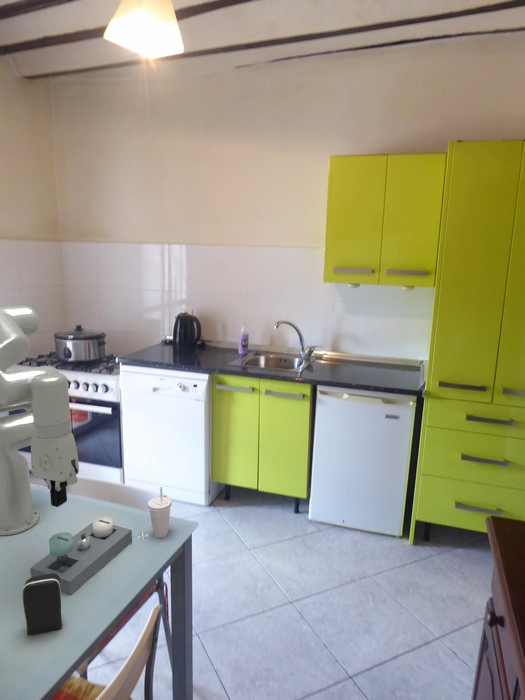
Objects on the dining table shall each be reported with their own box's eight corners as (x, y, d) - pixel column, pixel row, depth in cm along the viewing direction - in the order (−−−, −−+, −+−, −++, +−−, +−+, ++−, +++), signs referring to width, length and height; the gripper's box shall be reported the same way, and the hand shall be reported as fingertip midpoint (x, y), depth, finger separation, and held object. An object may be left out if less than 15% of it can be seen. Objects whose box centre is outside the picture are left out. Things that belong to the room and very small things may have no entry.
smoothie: (167, 542, 127) (165, 494, 124) (144, 539, 128) (142, 491, 126) (176, 529, 133) (174, 483, 130) (154, 526, 135) (153, 480, 132)
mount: (31, 580, 112) (30, 567, 111) (96, 531, 132) (95, 519, 131) (70, 595, 107) (69, 581, 107) (132, 541, 127) (131, 529, 127)
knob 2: (89, 543, 124) (88, 523, 123) (102, 532, 129) (101, 514, 128) (104, 547, 122) (103, 528, 121) (117, 537, 127) (116, 518, 126)
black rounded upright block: (64, 615, 101) (60, 568, 99) (63, 629, 98) (59, 580, 95) (28, 623, 99) (23, 575, 97) (25, 637, 96) (20, 587, 93)
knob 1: (46, 562, 111) (44, 541, 110) (62, 550, 115) (60, 529, 114) (62, 567, 109) (60, 546, 108) (78, 555, 114) (76, 534, 112)
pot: (75, 549, 118) (74, 536, 117) (83, 542, 121) (82, 530, 120) (84, 552, 117) (83, 539, 116) (93, 545, 120) (92, 533, 119)
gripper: (14, 429, 105) (21, 505, 109) (66, 439, 100) (72, 518, 103) (40, 418, 112) (47, 490, 116) (91, 427, 107) (96, 502, 110)
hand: (59, 503), depth 109 cm, fingers closed
